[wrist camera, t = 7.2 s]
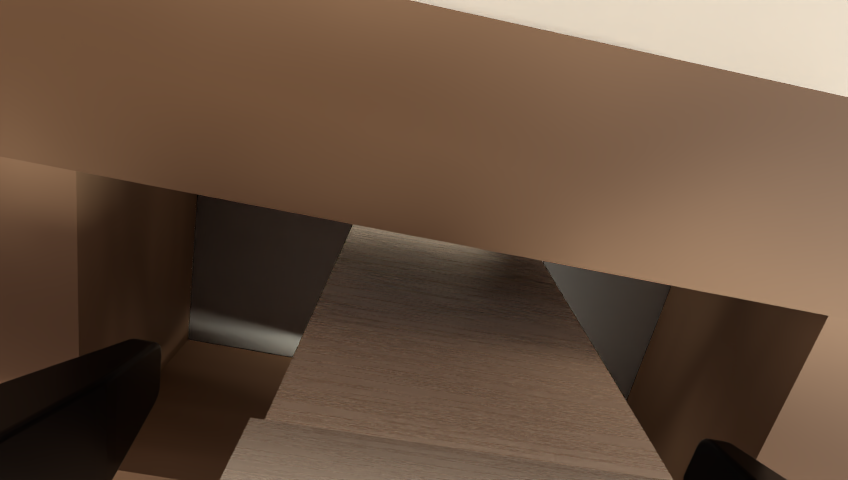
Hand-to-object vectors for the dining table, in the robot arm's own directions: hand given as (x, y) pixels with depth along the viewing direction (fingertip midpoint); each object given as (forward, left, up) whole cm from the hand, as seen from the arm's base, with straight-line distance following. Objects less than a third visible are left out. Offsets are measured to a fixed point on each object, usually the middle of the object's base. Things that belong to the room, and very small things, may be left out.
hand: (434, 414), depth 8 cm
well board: (0, 0, -5) cm, 5 cm away
